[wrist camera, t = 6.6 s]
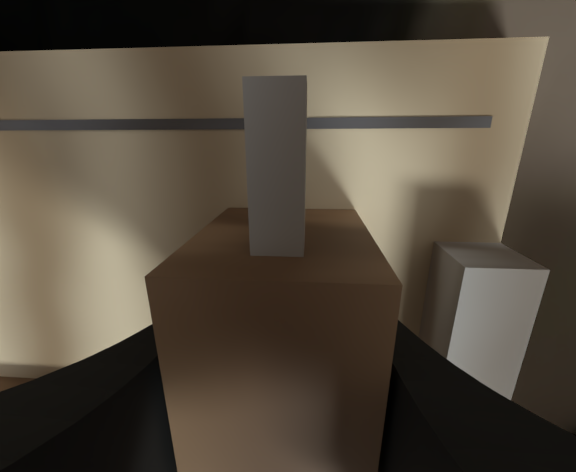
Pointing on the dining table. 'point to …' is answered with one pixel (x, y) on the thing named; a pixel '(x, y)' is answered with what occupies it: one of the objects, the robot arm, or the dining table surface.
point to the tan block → (276, 317)
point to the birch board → (233, 183)
